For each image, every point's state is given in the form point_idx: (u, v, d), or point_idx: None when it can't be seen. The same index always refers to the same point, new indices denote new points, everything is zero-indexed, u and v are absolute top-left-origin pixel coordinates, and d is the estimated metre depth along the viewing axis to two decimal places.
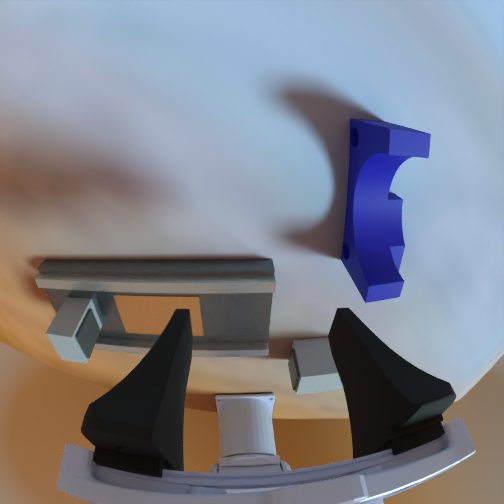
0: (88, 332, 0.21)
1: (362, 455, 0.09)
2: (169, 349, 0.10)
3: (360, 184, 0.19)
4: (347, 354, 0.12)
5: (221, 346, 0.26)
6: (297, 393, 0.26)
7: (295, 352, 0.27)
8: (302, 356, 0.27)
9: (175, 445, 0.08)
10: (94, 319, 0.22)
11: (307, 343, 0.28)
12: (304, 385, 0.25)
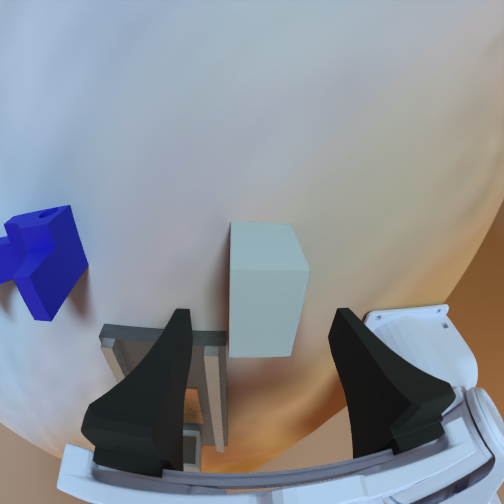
0: None
1: (362, 455, 0.09)
2: (169, 349, 0.10)
3: (11, 275, 0.15)
4: (347, 354, 0.12)
5: None
6: (285, 355, 0.15)
7: None
8: None
9: (175, 445, 0.08)
10: None
11: None
12: (259, 350, 0.15)
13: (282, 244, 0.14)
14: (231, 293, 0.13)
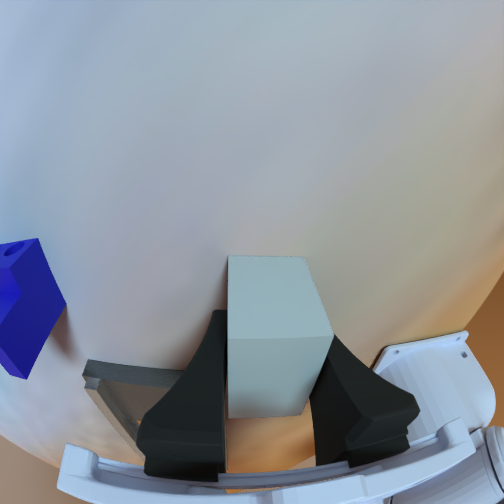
0: None
1: (322, 464, 0.08)
2: (217, 351, 0.10)
3: None
4: None
5: None
6: (295, 414, 0.12)
7: None
8: None
9: (224, 448, 0.08)
10: None
11: None
12: (264, 412, 0.11)
13: (296, 292, 0.11)
14: (230, 363, 0.09)
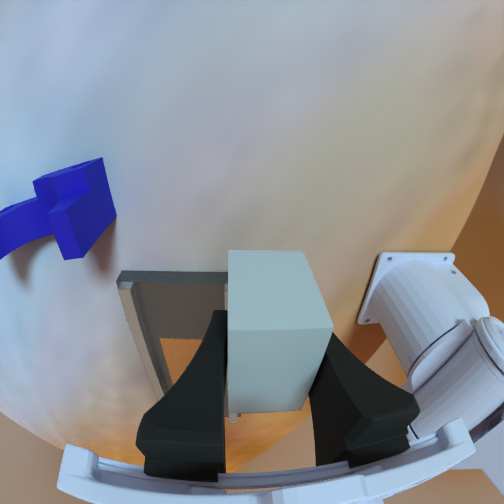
0: None
1: (322, 464, 0.08)
2: (217, 351, 0.10)
3: (35, 234, 0.17)
4: None
5: None
6: (295, 409, 0.12)
7: None
8: None
9: (224, 448, 0.08)
10: None
11: None
12: (264, 407, 0.11)
13: (296, 285, 0.11)
14: (230, 355, 0.09)
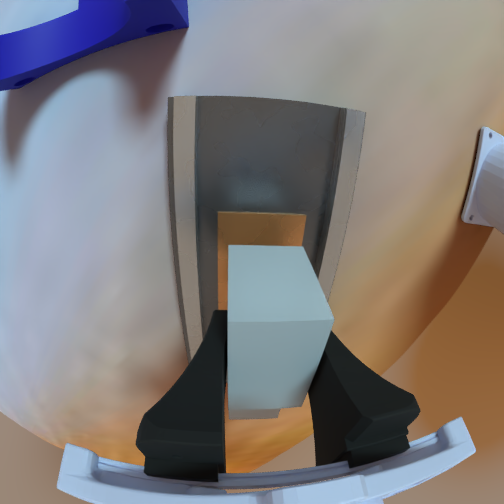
0: None
1: (322, 463, 0.08)
2: (217, 351, 0.10)
3: (57, 55, 0.09)
4: None
5: (332, 191, 0.14)
6: (296, 406, 0.12)
7: None
8: None
9: (224, 448, 0.08)
10: None
11: None
12: (264, 403, 0.11)
13: (296, 278, 0.11)
14: (229, 348, 0.09)
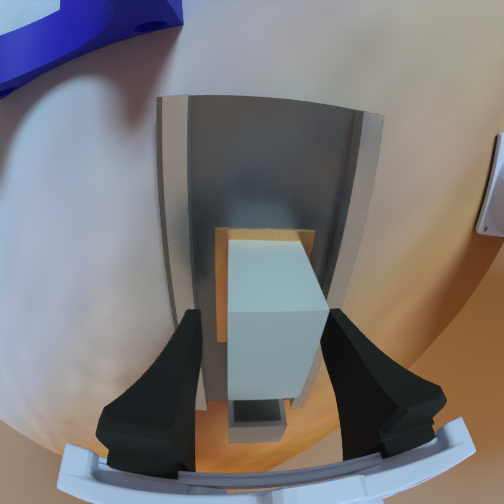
0: None
1: (351, 458, 0.08)
2: (182, 350, 0.10)
3: (37, 61, 0.08)
4: (337, 355, 0.12)
5: (344, 205, 0.12)
6: (293, 397, 0.12)
7: None
8: None
9: (189, 446, 0.08)
10: None
11: None
12: (263, 393, 0.12)
13: (293, 272, 0.11)
14: (229, 338, 0.10)
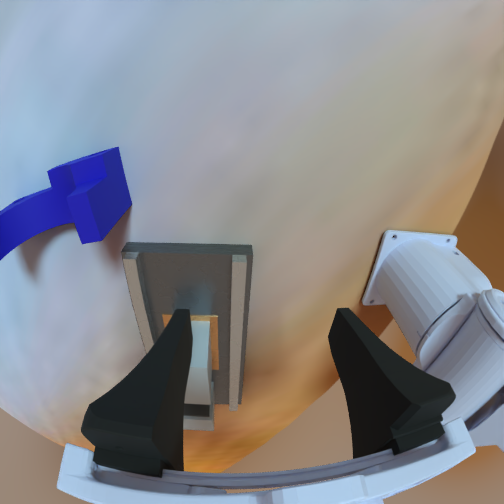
0: None
1: (362, 455, 0.09)
2: (169, 349, 0.10)
3: (49, 224, 0.18)
4: (347, 354, 0.12)
5: None
6: (207, 404, 0.22)
7: None
8: None
9: (175, 445, 0.08)
10: None
11: None
12: (189, 400, 0.22)
13: (197, 343, 0.21)
14: None
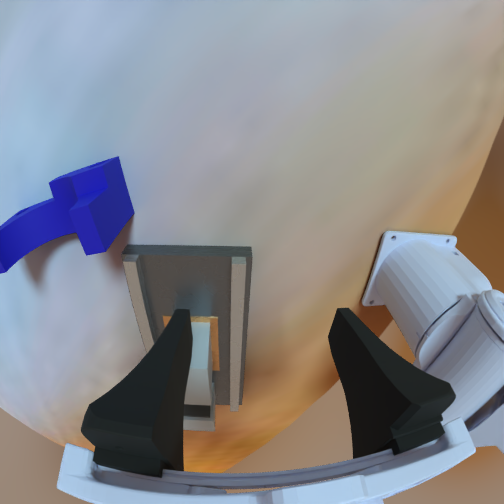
0: None
1: (362, 455, 0.09)
2: (169, 349, 0.10)
3: (53, 234, 0.18)
4: (347, 354, 0.12)
5: None
6: None
7: None
8: None
9: (175, 445, 0.08)
10: None
11: None
12: (190, 401, 0.22)
13: (197, 345, 0.21)
14: None
